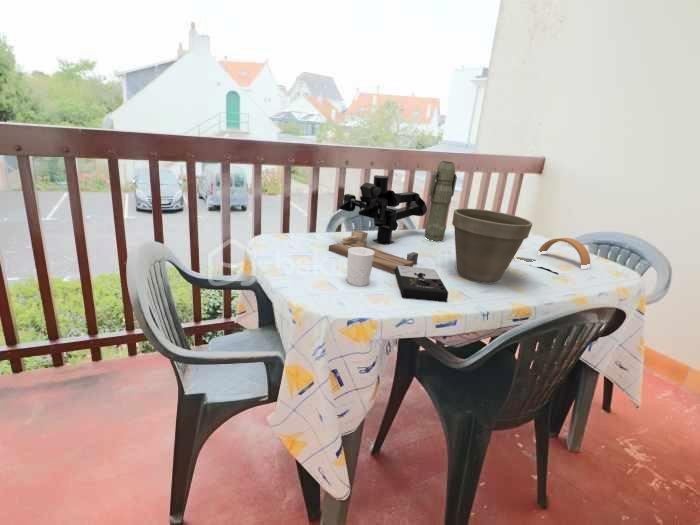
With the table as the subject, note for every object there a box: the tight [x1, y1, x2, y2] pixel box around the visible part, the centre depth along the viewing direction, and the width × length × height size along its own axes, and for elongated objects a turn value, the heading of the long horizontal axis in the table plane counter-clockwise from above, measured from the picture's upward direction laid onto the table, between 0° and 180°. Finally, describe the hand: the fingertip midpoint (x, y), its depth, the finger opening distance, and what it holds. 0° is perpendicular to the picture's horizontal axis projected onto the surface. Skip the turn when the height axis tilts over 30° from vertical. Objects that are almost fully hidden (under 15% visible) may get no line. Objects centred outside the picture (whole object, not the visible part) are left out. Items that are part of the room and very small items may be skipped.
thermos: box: [424, 160, 458, 242], centre depth 167 cm, size 9×12×35 cm
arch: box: [538, 237, 591, 266], centre depth 158 cm, size 6×20×10 cm, turn 30°
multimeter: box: [394, 266, 449, 303], centre depth 115 cm, size 13×19×5 cm
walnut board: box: [327, 241, 419, 275], centre depth 138 cm, size 17×30×4 cm, turn 50°
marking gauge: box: [342, 229, 369, 246], centre depth 147 cm, size 11×5×6 cm, turn 140°
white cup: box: [346, 247, 374, 287], centre depth 113 cm, size 8×8×10 cm
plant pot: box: [451, 208, 533, 284], centre depth 128 cm, size 25×25×22 cm
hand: (349, 210), depth 137 cm, fingers open, 9 cm apart
